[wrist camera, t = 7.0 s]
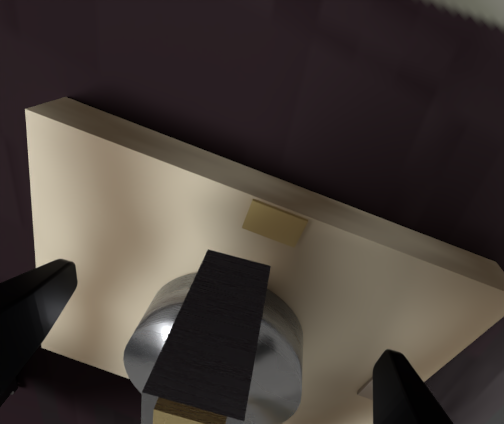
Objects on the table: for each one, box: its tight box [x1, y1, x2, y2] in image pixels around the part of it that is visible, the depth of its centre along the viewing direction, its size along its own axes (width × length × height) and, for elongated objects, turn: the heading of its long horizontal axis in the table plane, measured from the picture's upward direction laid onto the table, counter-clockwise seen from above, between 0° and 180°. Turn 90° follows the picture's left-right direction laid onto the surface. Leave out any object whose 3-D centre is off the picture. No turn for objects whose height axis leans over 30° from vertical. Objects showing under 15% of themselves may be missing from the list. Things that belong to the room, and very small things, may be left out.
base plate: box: [25, 97, 504, 424], centre depth 15 cm, size 18×14×2 cm
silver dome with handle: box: [123, 249, 303, 424], centre depth 11 cm, size 13×7×7 cm, turn 169°
